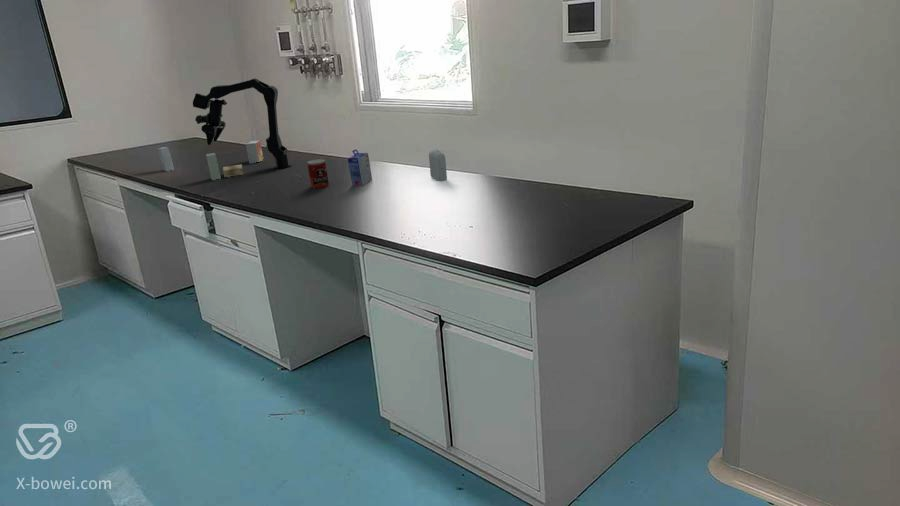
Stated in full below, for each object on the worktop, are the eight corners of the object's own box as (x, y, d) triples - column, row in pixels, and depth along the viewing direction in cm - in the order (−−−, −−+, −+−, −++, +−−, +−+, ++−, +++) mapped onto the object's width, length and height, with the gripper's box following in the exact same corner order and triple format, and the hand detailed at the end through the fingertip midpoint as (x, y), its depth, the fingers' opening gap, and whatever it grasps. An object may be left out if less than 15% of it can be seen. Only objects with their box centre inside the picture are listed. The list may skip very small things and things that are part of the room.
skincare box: (174, 170, 335) (169, 147, 330) (166, 171, 332) (160, 149, 328) (171, 168, 339) (165, 146, 335) (162, 170, 337) (157, 147, 332)
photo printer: (448, 180, 264) (446, 150, 260) (439, 181, 263) (436, 152, 258) (438, 175, 273) (435, 147, 269) (429, 177, 272) (426, 148, 267)
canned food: (314, 189, 269) (309, 164, 265) (309, 186, 275) (304, 161, 271) (331, 186, 272) (327, 161, 268) (325, 182, 278) (322, 158, 275)
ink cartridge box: (361, 180, 278) (356, 147, 273) (372, 180, 276) (368, 147, 271) (351, 186, 269) (346, 152, 264) (362, 186, 267) (358, 152, 262)
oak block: (243, 172, 316) (241, 164, 315) (243, 175, 308) (242, 167, 307) (224, 175, 314) (222, 167, 312) (224, 178, 306) (223, 170, 304)
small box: (259, 162, 334) (255, 143, 330) (249, 163, 334) (245, 144, 330) (264, 159, 341) (260, 140, 337) (253, 160, 341) (250, 141, 338)
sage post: (219, 177, 308) (214, 152, 304) (221, 179, 304) (215, 154, 300) (211, 178, 307) (205, 154, 303) (212, 180, 303) (206, 155, 298)
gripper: (204, 105, 315) (201, 136, 320) (191, 110, 297) (188, 143, 303) (227, 110, 316) (224, 141, 321) (215, 116, 299) (212, 148, 304)
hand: (212, 143), depth 312 cm, fingers open, 9 cm apart
